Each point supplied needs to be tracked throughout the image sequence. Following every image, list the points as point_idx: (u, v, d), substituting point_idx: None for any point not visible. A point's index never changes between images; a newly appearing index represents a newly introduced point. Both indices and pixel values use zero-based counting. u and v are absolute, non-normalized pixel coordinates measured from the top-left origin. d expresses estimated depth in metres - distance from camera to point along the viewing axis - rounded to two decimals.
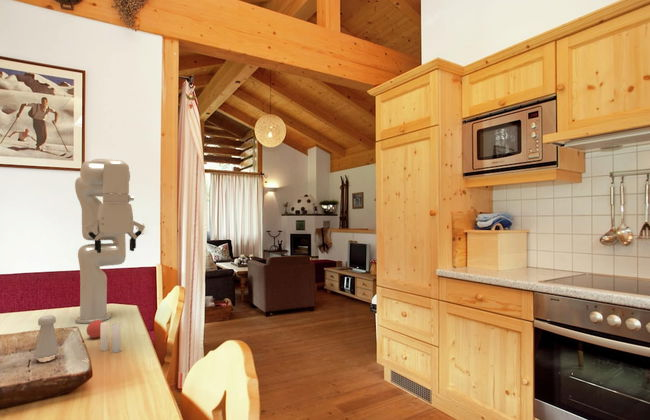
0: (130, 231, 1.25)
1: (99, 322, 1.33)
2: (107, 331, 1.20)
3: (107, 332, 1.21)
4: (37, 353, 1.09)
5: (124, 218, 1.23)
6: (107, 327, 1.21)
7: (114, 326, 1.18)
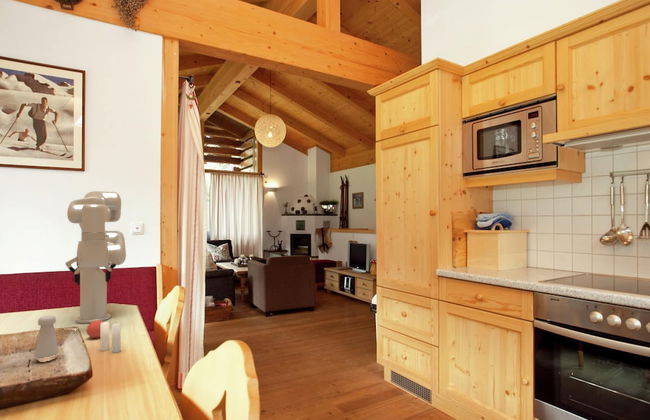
0: (106, 264, 1.42)
1: (99, 322, 1.33)
2: (107, 331, 1.20)
3: (107, 332, 1.21)
4: (37, 353, 1.09)
5: (100, 253, 1.41)
6: (107, 327, 1.21)
7: (114, 326, 1.18)
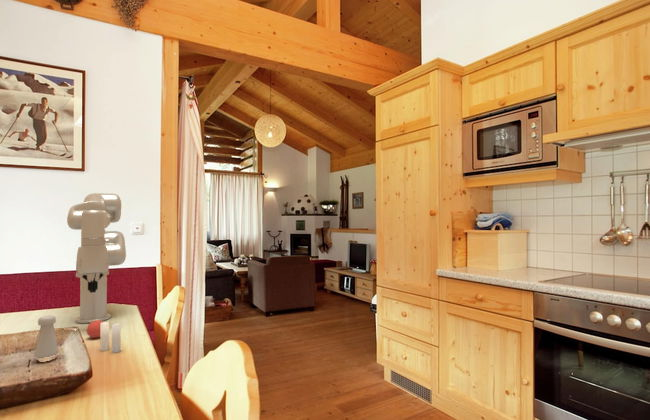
0: (105, 270, 1.42)
1: (99, 322, 1.33)
2: (107, 331, 1.20)
3: (107, 332, 1.21)
4: (37, 353, 1.09)
5: (100, 259, 1.40)
6: (107, 327, 1.21)
7: (114, 326, 1.18)
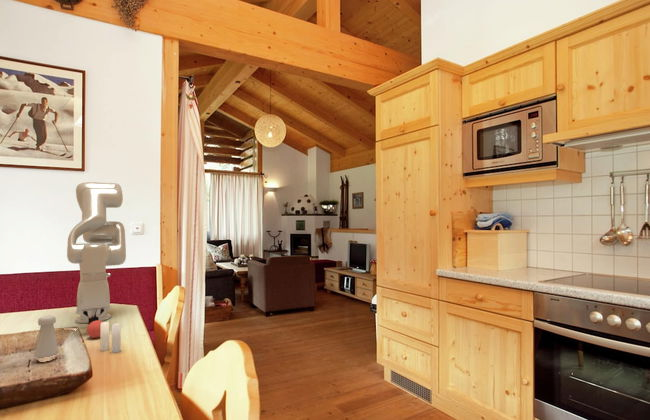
0: (106, 305, 1.39)
1: (99, 322, 1.33)
2: (107, 331, 1.20)
3: (107, 332, 1.21)
4: (37, 353, 1.09)
5: (101, 294, 1.38)
6: (107, 327, 1.21)
7: (114, 326, 1.18)
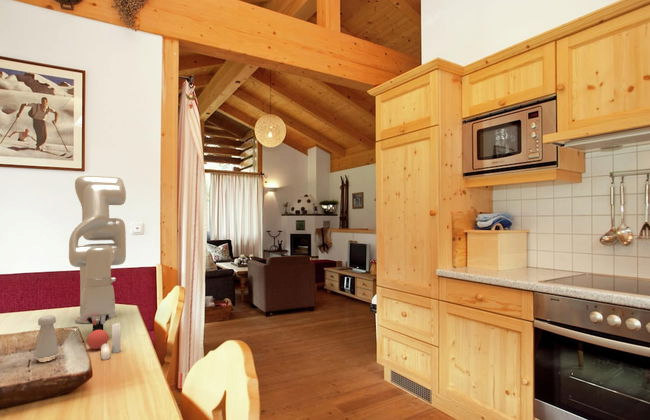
0: (112, 312, 1.32)
1: None
2: None
3: None
4: (37, 353, 1.09)
5: (106, 300, 1.31)
6: None
7: (114, 326, 1.18)
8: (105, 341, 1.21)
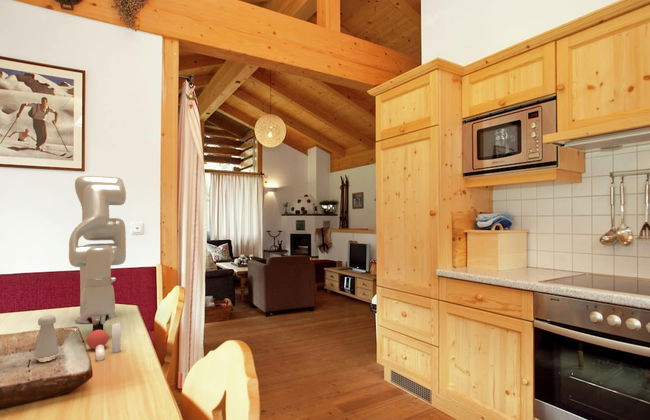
0: (112, 312, 1.32)
1: None
2: (104, 352, 1.14)
3: (104, 351, 1.15)
4: (37, 353, 1.09)
5: (106, 300, 1.31)
6: (104, 353, 1.13)
7: (114, 326, 1.18)
8: (105, 341, 1.21)
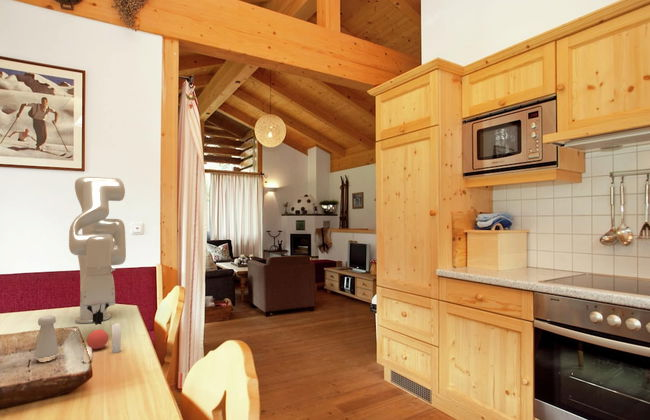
0: (111, 300, 1.33)
1: None
2: None
3: None
4: (37, 353, 1.09)
5: (106, 289, 1.31)
6: None
7: (114, 326, 1.18)
8: (105, 341, 1.21)
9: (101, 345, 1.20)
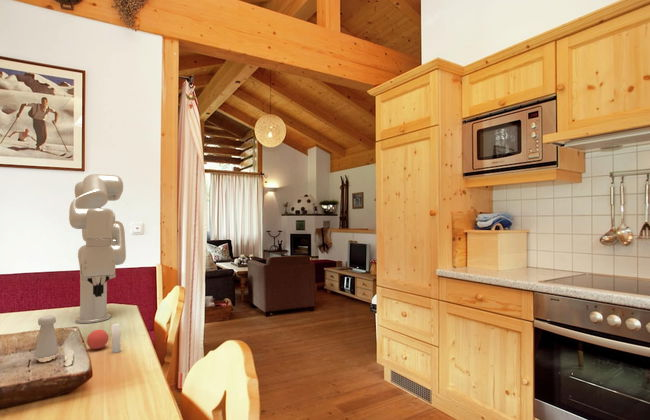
0: (112, 273, 1.32)
1: None
2: None
3: None
4: (37, 353, 1.09)
5: (106, 261, 1.31)
6: None
7: (114, 326, 1.18)
8: (105, 341, 1.21)
9: (101, 345, 1.20)
